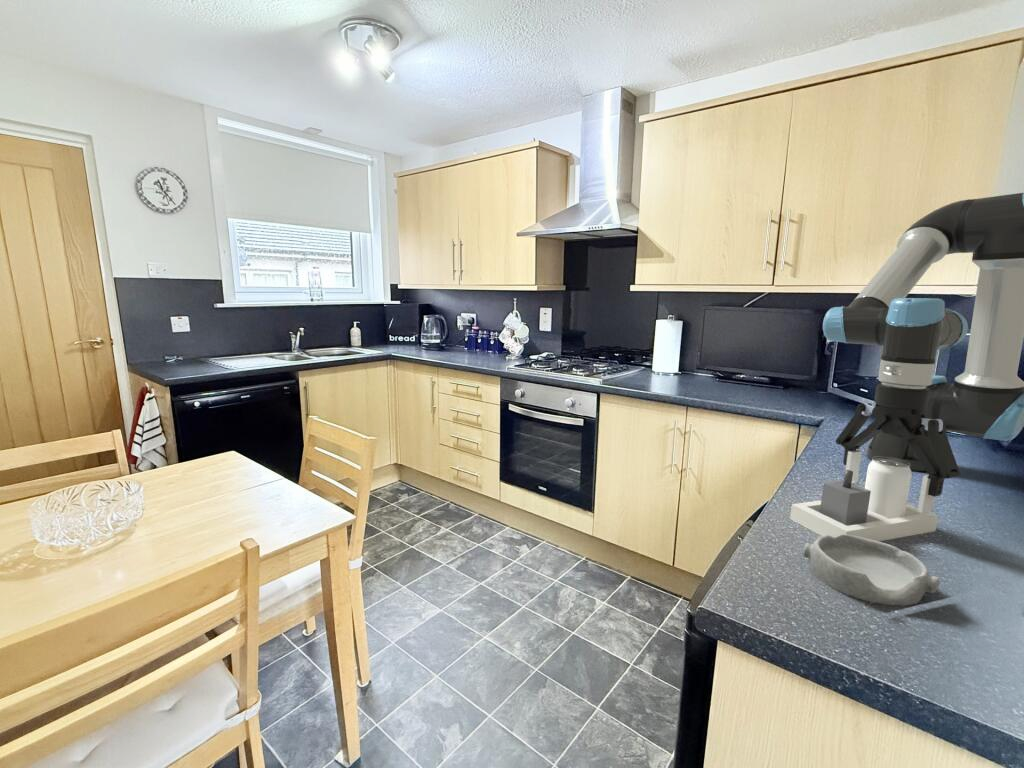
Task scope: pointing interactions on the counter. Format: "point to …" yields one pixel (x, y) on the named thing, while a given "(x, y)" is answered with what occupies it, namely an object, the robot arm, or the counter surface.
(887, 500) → the can
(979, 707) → the counter surface
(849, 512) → the seated block
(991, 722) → the counter surface
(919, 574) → the dish
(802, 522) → the white flat tray
